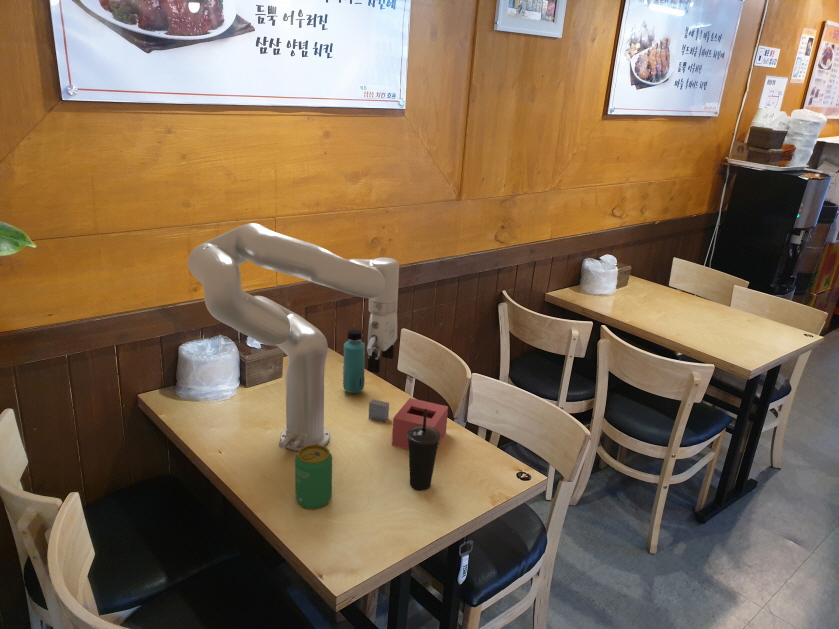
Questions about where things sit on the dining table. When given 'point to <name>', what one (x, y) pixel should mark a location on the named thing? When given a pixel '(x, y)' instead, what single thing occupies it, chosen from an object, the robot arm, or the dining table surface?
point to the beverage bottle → (354, 362)
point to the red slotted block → (418, 420)
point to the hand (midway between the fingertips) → (380, 364)
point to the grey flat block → (378, 410)
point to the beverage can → (313, 476)
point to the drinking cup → (422, 454)
